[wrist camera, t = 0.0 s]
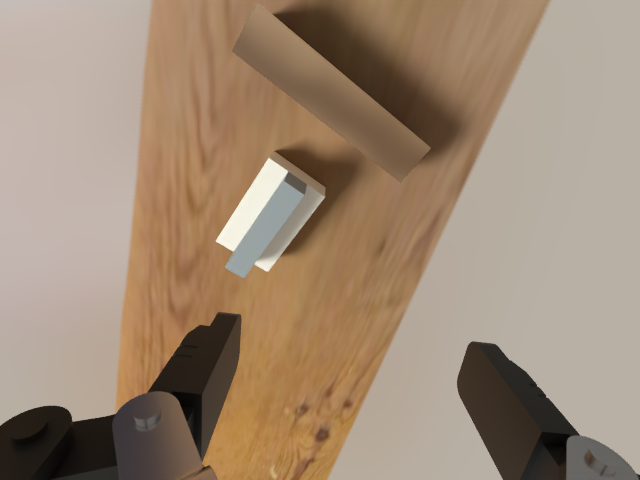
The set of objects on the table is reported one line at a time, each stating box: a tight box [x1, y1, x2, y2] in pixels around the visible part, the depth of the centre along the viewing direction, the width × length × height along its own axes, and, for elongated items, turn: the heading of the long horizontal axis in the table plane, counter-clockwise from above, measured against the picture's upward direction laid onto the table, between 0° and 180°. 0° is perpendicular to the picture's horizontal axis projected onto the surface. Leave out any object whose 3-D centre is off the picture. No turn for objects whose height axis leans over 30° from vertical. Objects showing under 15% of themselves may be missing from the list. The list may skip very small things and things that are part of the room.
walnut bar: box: [232, 2, 431, 183], centre depth 26 cm, size 4×16×5 cm, turn 54°
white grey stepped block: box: [216, 151, 325, 278], centre depth 30 cm, size 10×6×6 cm, turn 144°
